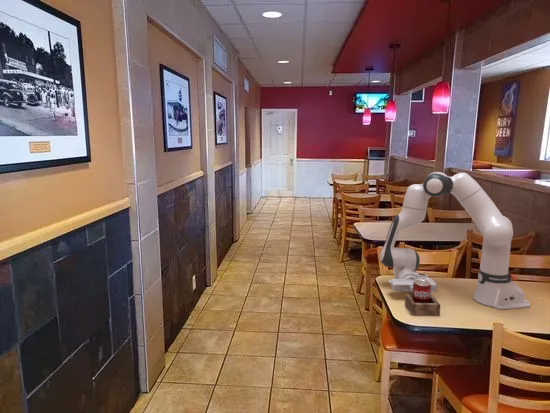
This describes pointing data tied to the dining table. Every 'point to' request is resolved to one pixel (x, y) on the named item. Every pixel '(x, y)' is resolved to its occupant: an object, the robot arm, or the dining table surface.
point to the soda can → (421, 291)
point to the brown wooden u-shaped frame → (423, 307)
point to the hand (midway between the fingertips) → (418, 292)
